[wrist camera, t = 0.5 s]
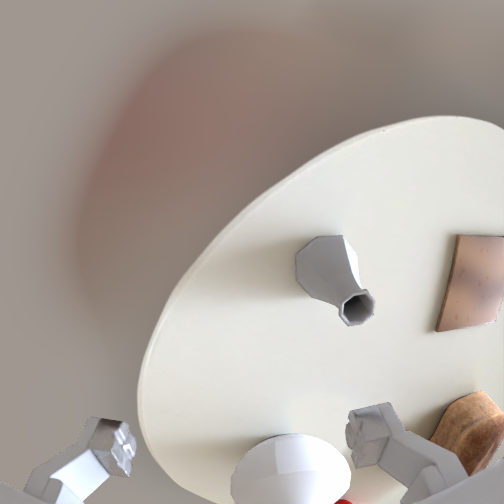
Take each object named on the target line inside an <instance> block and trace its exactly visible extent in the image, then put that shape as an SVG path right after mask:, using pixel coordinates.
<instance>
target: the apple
mask: <svg viewBox="0 0 504 504" xmlns="http://www.w3.org/2000/svg"><path fill="white" fill-rule="evenodd" d="M334 504H352V503H350V502H349V501H347V500H340V501H336V502H335V503H334Z"/></svg>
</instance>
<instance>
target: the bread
mask: <svg viewBox="0 0 504 504" xmlns="http://www.w3.org/2000/svg"><path fill="white" fill-rule="evenodd" d="M503 439H504V413H503V412H502V411H500V409H499V408H498V406H497V405H496V404H495V403H494V402H493V401H492V400H491V399H490V398H489V397H488V396H487V395H486V393H485V392H483V391H480V392H476V393H472V394H469V395H467V396H464V397H462V398H460V399H458V400H457V401H455V402H453V403H452V404H451V405H450V406H449V407H448V409H447V410H446V412H445V413H444V415H443V417H442V419H441V421H440V423H439V425H438V427H437V429H436V431H435V433H434V435H433V436H432V438H431V439H430V442H432V443H434V444H436V445H438V446H440V447H442V448H444V449H446V450H448V451H450V452H453V453H455V454H456V455H457V457H458V459H459V461H460V462H461V464H462V466H463V467H464V469H465V471H466V473H467V474H468V476H469V477H471V476H472V475H474V474H476V473H478V472H480V471H481V470H483V469H485V468H486V467H487V465H488V463H489V462H490V461H491V459H492V458H493V456H494V454H495V453H496V451H497V449H498V448H499V446H500V444H501V442H502V441H503Z"/></svg>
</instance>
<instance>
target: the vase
mask: <svg viewBox="0 0 504 504" xmlns="http://www.w3.org/2000/svg"><path fill="white" fill-rule="evenodd" d="M350 478H351V472H350V469H349V466H348V463H347V462H346V460H345V458H344V457H343V456H342V455H341V454H340V453H339V452H338V451H337V450H336V449H335V448H334V447H333V446H331V445H330V444H328V443H327V442H325V441H322V440H320V439H318V438H315V437H312V436H309V435H300V434H286V435H280V436H276V437H273V438H270V439H267V440H265V441H263V442H261V443H259V444H257V445H256V446H255V447H253V448H252V449H251V450H250V451H249V452H247V453H246V454H245V455H244V456H243V457H242V459H241V460H240V462H239V463H238V465H237V467H236V469H235V471H234V473H233V474H232V476H231V492H230V493H231V496H232V498H233V500H234V502H235V503H236V504H334V503H335V502H336V501H337V500H338V499H339V498H340V497H341V496H342V495H344V494H345V492H346V491H347V490H348V488H349V484H350Z"/></svg>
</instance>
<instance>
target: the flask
mask: <svg viewBox="0 0 504 504" xmlns="http://www.w3.org/2000/svg"><path fill="white" fill-rule="evenodd" d="M296 280H297V281H298V282H299V284H300V285H301V286H302V287H303V288H304V289H305V290H306V291H307V293H308V294H309V295H310V296H311V297H312V298H315V299H318V300H322V301H325V302H327V303H330V304H332V305H335V306H336V307H337V308H338V309H339V317H340V318H341V319H342V320H343V321H344V323H345V324H346V325H347V326H353V325H360V324H363V323H364V322H365V321H366V320H368V319H369V318H370V317H371V316H373V315H374V307H375V300H374V299H373V297H372V296H371V295H370V293H369V292H368V291H367V289H362V287H361V285H360V282H359V274H358V262H357V254H356V253H355V251H354V250H353V249H352V247H351V246H350V245H349V243H348V242H347V241H346V239H345V238H344V237H343V235H339V236H326V237H316V238H315V239H314V240H313V241H311V242H310V243H309V244H308V245H307V246H305V247H304V248H303V249H302V250H301V251H299V252H298V253H297V254H296Z"/></svg>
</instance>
